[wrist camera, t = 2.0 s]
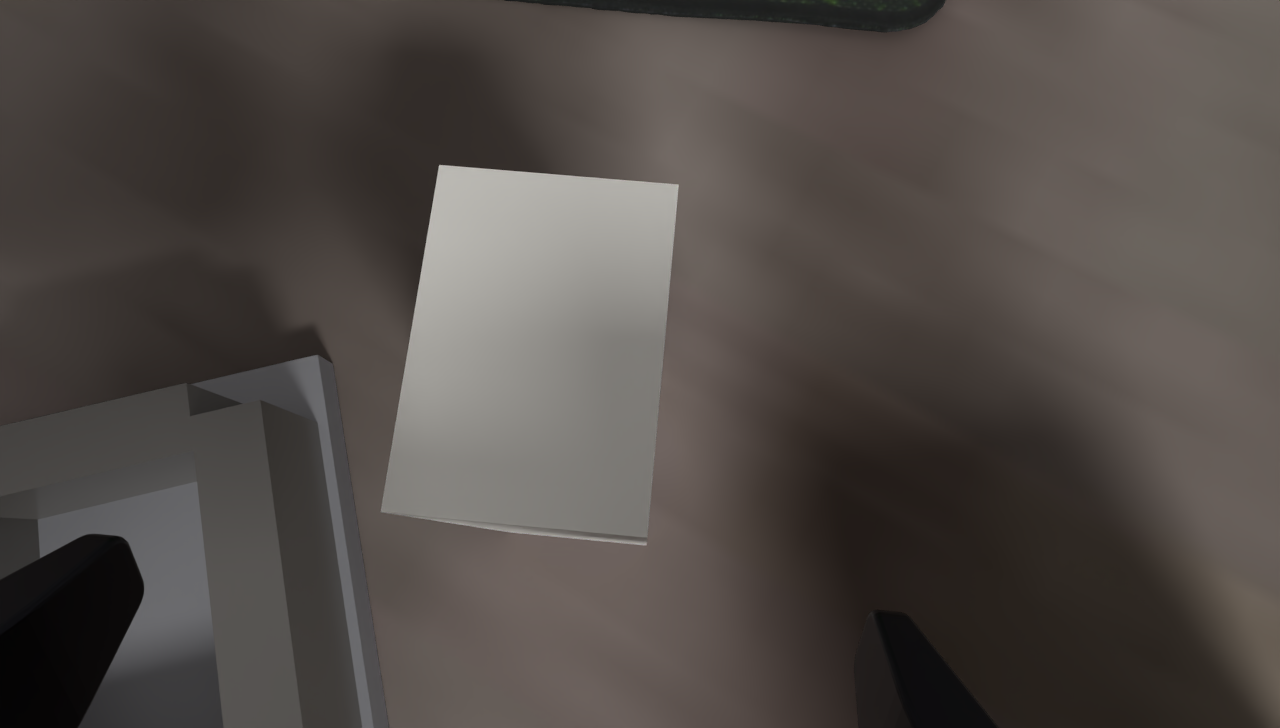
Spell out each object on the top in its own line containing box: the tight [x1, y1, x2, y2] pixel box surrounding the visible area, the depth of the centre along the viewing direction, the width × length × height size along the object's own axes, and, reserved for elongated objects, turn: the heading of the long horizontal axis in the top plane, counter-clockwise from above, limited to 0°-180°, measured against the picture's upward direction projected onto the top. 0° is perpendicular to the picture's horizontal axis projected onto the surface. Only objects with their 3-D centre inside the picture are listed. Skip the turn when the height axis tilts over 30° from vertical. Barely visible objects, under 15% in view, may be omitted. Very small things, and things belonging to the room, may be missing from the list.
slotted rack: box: [0, 355, 389, 728], centre depth 17 cm, size 12×9×4 cm
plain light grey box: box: [381, 165, 679, 545], centre depth 16 cm, size 5×4×10 cm
